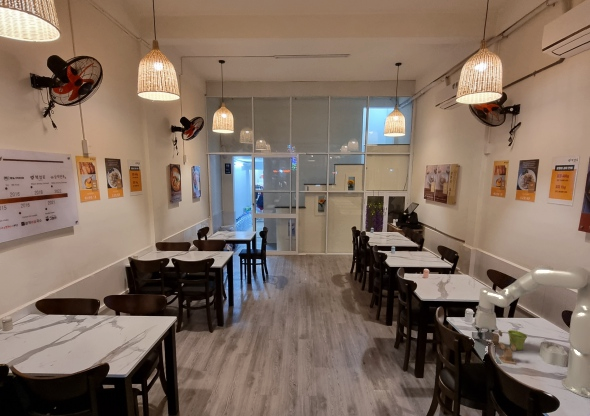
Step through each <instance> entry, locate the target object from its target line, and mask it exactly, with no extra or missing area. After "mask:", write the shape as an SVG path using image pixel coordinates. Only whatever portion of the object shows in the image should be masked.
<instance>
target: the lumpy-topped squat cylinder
mask: <svg viewBox="0 0 590 416" xmlns="http://www.w3.org/2000/svg"><path fill="white" fill-rule="evenodd" d="M539 345H540V346H539V357H540V358H541V360H542V361H543V362H545V363H547V364H549V365H552V366H557V367H562V368H566V367H567V364H568V362H567V361H568V353H567V351H566V350H565V348H564V347H563V346H562V345H558V344H557V343H555V342H551V341H542V342H540V343H539Z"/></svg>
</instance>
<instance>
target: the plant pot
mask: <svg viewBox="0 0 590 416" xmlns="http://www.w3.org/2000/svg"><path fill="white" fill-rule="evenodd" d="M507 333H508V337H509V346H510V347H511V345H512V344H513V345H514V346H515V347H516V351H517V350H518V351H521V350H524V346H525V345H524V344H525V342H526V339H527V338H528V336H527V334H526V333H523V332H522V331H519V330H514V329H513V330H512V329H510V330H507Z"/></svg>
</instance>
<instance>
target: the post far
mask: <svg viewBox="0 0 590 416" xmlns="http://www.w3.org/2000/svg"><path fill="white" fill-rule="evenodd" d="M492 333H493V340H486V343H487V344H488V343H490V342H493V343H494V345H495V347H494V348H496V349H497V348H498V349H502V348H501V343H500V337H503V332H502V330H500V329H498V333H494V332H492Z"/></svg>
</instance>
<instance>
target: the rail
mask: <svg viewBox="0 0 590 416" xmlns="http://www.w3.org/2000/svg"><path fill="white" fill-rule="evenodd" d="M477 333H478V331H472V332H471V337H472V338H473V339H478V340H480V338H479V337H478V336H477ZM481 333H482V336H481V340H484V341H485V340H486V341H491V340H493V333H494V332H493V333H492V332H487V331H486V330H485V331H481Z"/></svg>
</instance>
